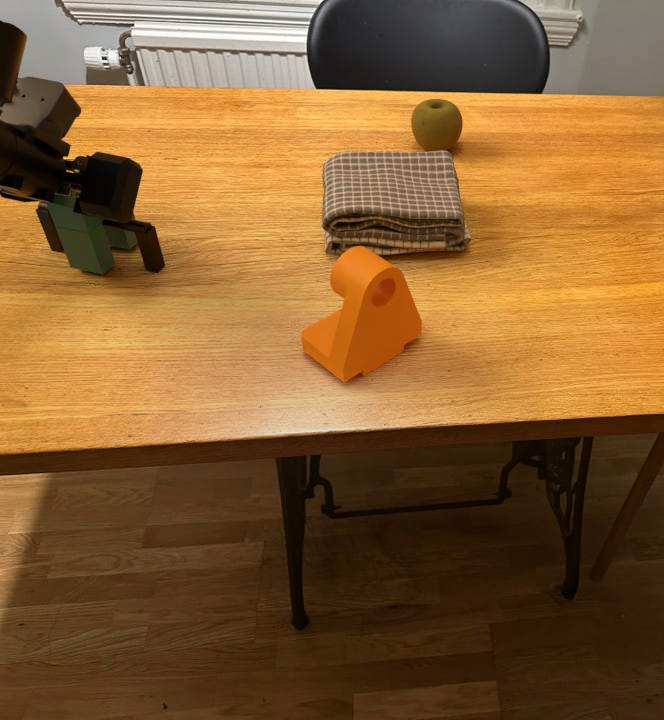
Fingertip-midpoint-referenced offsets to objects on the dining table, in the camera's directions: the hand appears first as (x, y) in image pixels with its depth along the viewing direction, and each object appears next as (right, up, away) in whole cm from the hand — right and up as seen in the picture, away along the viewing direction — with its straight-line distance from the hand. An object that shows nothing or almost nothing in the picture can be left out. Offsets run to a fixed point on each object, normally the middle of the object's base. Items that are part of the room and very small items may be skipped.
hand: (98, 197), depth 78 cm
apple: (+36, +15, +31) cm, 50 cm away
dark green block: (-1, -6, +4) cm, 7 cm away
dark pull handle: (-1, -6, +4) cm, 7 cm away
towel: (+31, -1, +14) cm, 34 cm away
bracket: (+30, -17, -3) cm, 34 cm away
